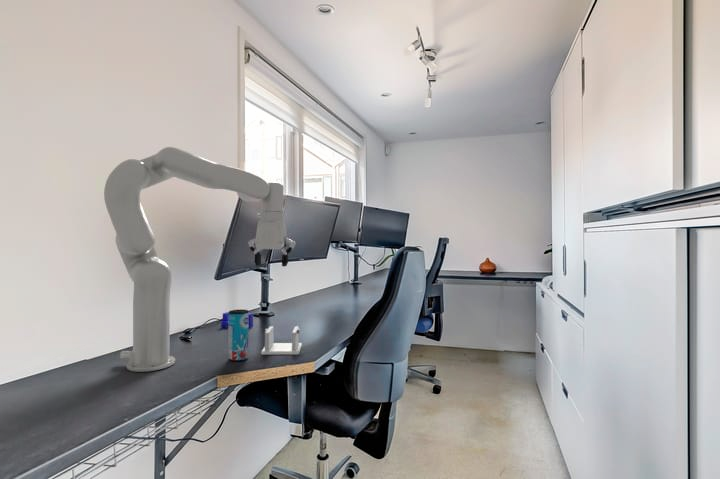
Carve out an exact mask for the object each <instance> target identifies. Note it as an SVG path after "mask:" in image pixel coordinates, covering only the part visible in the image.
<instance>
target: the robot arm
mask: <svg viewBox="0 0 720 479" xmlns="http://www.w3.org/2000/svg"><path fill="white" fill-rule="evenodd" d="M173 178H177V179H179V180H183V181H186V182H188V183H191V184H195V185H197V186H200V187H203V188H206V189H212V190H225V191H231V192H235V193H237V196H238V197H239V198H240V199H241V200H242V201H244V202H249V203H251V202H252V203H253V202H261V210H260V213H257V218H259V219H260V220H258V222H257V227H256V232H255V237H254V238H253V239H250V240H249V241H247V245H248V247H249V249H250V251H251V252H252V253H253V254H254V264H255V266H257V267H258V266H261V265H262V254H261V252H262V251H263V250H280V251H281V253H282V255H281V266H282V267H287V265H288V264H289V255H290V253H291V252H292V251H293V250H294V248H295V247H296V245H297V243H296V242H295V241H293V240H292V239H290V238H288V237H287V229H286V227H287V226H286V222H285V221H284V184H283V183H281V182H280V181H272V180H271V181H270V180H269V181H267V180H266V179H265V178H263V177H261V176H260V175H257V174H255V173H252V172H250V171H246V170H244V169H241V168H237V167H234V166H229V165H226V164H222V163H217V162H214V161H211V160H209V159H206V158H205V157H204V158H203V157H201V156H199V155H195V154H194V153H190V152H188V151H185V150H183V149H180V148H177V147H172V146H167V147H164V148H162V149H161V150H159V151H158V152H157V153H155V154H153V155H150V156H148V157H145V158H143V159H140V160H139V159H134V158H133V159H126V160H123V161H122V162H120V163H119V164H118V165H116V166H115V168H114V169H112V171H111V172H110V174H108V177H107V179H106V182H105V186H104V190H103V191H104V192H103V198H104V203H105V207H106V210H107V212H108V216H109V218H110V221H111V223H112V226H113V229H114V230H115V233H116V234H115V244H116V247H117V250H118V253H119V255H120V258H121V259H122V261H123V262H122V263H123V264H124V266H125V269H126V271H127V273H128V275H129V277H130V279H131V281H132V282H133V297H132V350H121V352H120V353H119V360H127V361H128V362H127V363H126V369H127V370H128V371H130V372H135V373H136V372H137V373H138V372H139V373H141V372H142V373H144V372H145V373H146V372H153V371H159V370H163V369H166V368H169V367H172V366H173V365H174V364H175V363H176V358H175V357H174V356H172V355H170V343H171V342H170V326H171V325H170V323H171V322H170V321H171V320H170V319H171V318H170V313H171V312H170V310H171V309H170V306H171V305H170V304H171V302H170V300H171V286H172V272H171V269H170V266H169V264H167V262H165V261H164V260H162V259H160V257H159V255H158V252H157V249H156V247H155V244H156V237H155V234H154V232H153V229H152V227H151V226H150V223H149V221H148V219H147V216H146V213H145V211H144V208H143V205H142V202H141V198H140V197H141V191H143V190H145V189H147V188H151V187H152V186H156V185H157V184H160V183H162V182H165V181H169V180H170V179H173ZM254 244H255V246H254ZM287 244H289V247H287Z"/></svg>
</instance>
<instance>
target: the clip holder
mask: <svg viewBox="0 0 720 479" xmlns="http://www.w3.org/2000/svg"><path fill="white" fill-rule="evenodd" d="M274 330H275V328H274V326H269V327H268V328H265V330H264V346H263V349H262V350H261V352H260V353H261V355H265V356H266V355H300V352H301V349H302V347H303V343H302V342H299V341H300V332H301V329H300V327H299V326H298V325H296V326H294V328H293V329H292V332H291V342H275V338H274V333H275V332H274Z"/></svg>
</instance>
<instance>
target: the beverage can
mask: <svg viewBox="0 0 720 479" xmlns="http://www.w3.org/2000/svg"><path fill="white" fill-rule="evenodd" d="M228 312H229V327H228V337H227V338H228V341H227V342H228V345H227V346H228V348H227V349H228V357H227V358H228V361H229V362H233V363H237V362H238V363H241V362H244V361H246V360H248V358H249V328H248V326H249V325H248V321H249V317H248V314H249V313H250V312H249V310H248V309H232V310H229V311H228Z"/></svg>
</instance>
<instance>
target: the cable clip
mask: <svg viewBox="0 0 720 479" xmlns="http://www.w3.org/2000/svg"><path fill="white" fill-rule="evenodd" d="M248 317H249V321H248V329H251V328H253V327H254V312H248ZM228 327H229V311H228V312H224V313H222V320H221V321H220V329H228Z"/></svg>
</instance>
